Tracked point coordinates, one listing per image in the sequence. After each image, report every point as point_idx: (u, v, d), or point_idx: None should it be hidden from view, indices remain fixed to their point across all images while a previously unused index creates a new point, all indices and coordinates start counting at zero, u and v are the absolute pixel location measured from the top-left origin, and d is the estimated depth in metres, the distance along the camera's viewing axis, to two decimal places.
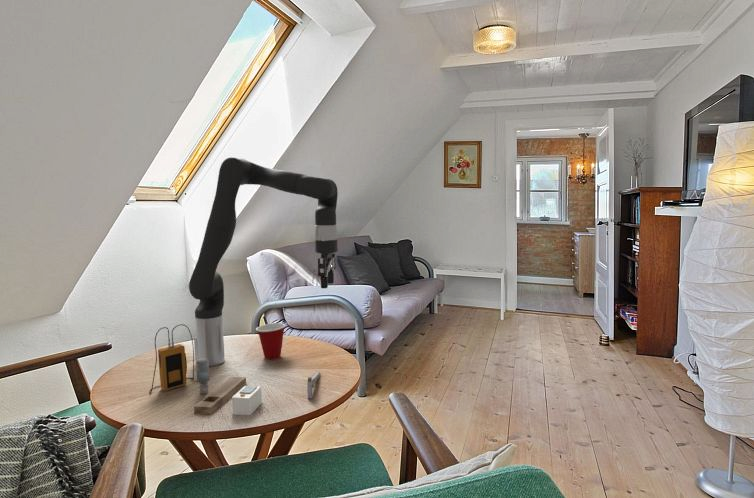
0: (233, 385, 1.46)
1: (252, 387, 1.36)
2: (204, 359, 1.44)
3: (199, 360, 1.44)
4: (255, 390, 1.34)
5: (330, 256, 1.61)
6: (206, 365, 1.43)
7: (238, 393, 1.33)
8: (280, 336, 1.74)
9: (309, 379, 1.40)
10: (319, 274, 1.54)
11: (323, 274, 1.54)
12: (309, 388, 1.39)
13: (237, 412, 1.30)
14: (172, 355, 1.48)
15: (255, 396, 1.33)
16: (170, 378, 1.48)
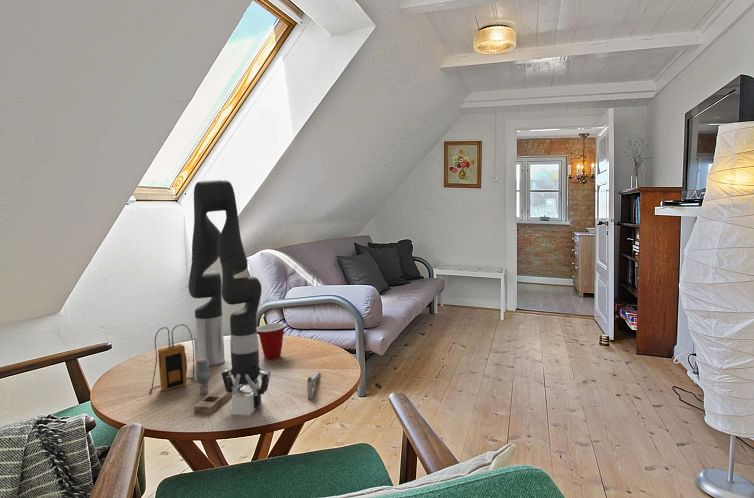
0: None
1: None
2: (204, 359, 1.44)
3: (199, 360, 1.44)
4: None
5: None
6: (206, 365, 1.43)
7: (238, 393, 1.32)
8: (280, 336, 1.74)
9: (309, 379, 1.40)
10: None
11: (266, 389, 1.33)
12: (309, 388, 1.39)
13: (237, 411, 1.30)
14: (172, 355, 1.48)
15: None
16: (170, 378, 1.48)
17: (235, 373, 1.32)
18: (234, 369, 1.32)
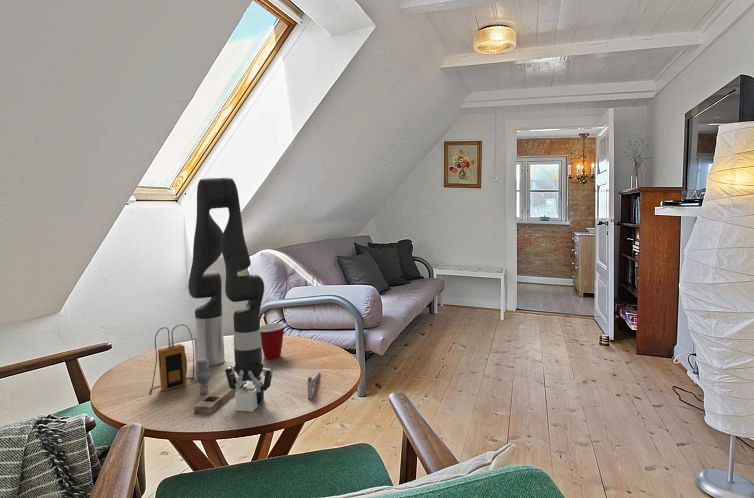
0: None
1: None
2: (204, 359, 1.44)
3: (199, 360, 1.44)
4: None
5: None
6: (206, 365, 1.43)
7: (241, 389, 1.34)
8: (280, 336, 1.74)
9: (309, 379, 1.40)
10: (266, 388, 1.34)
11: (268, 386, 1.35)
12: (309, 388, 1.39)
13: (240, 407, 1.32)
14: (172, 355, 1.48)
15: None
16: (170, 378, 1.48)
17: (238, 370, 1.34)
18: (237, 366, 1.34)
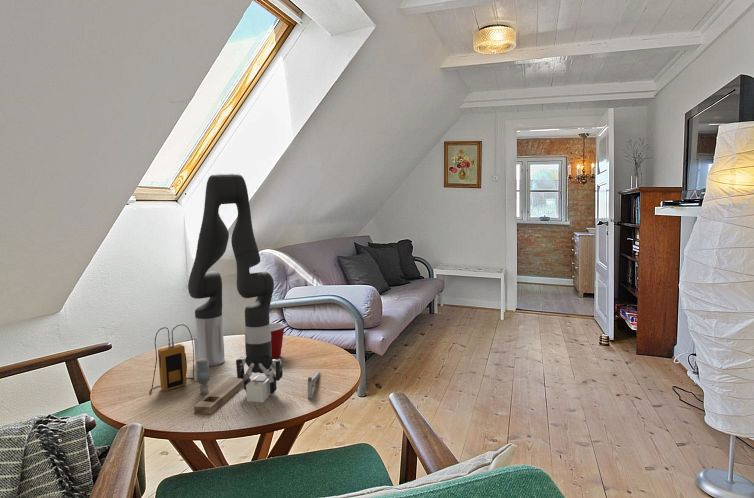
0: (233, 385, 1.46)
1: (264, 376, 1.44)
2: (204, 359, 1.44)
3: (199, 360, 1.44)
4: (267, 379, 1.43)
5: None
6: (206, 365, 1.43)
7: (251, 381, 1.41)
8: (280, 336, 1.74)
9: (309, 379, 1.40)
10: (279, 378, 1.40)
11: (281, 376, 1.42)
12: (309, 388, 1.39)
13: (251, 399, 1.38)
14: (172, 355, 1.48)
15: (267, 384, 1.41)
16: (170, 378, 1.48)
17: (249, 363, 1.41)
18: (249, 359, 1.41)
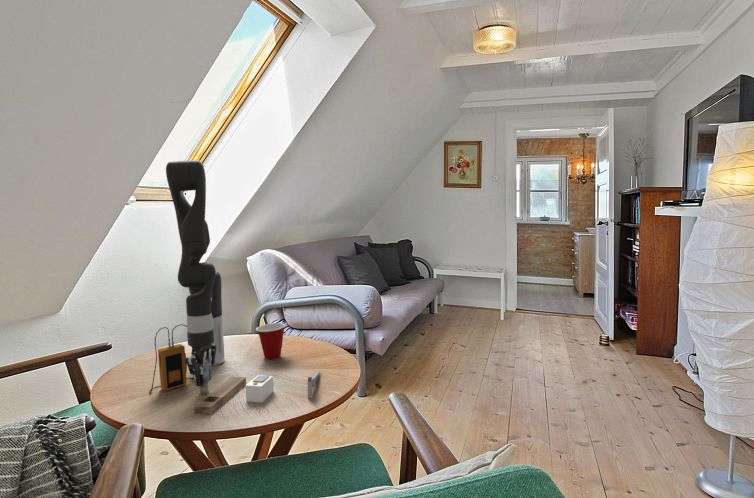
0: (233, 385, 1.46)
1: (264, 376, 1.44)
2: None
3: None
4: (267, 379, 1.42)
5: None
6: (206, 365, 1.43)
7: (251, 381, 1.41)
8: (280, 336, 1.74)
9: (309, 379, 1.40)
10: None
11: None
12: (309, 388, 1.39)
13: (250, 399, 1.38)
14: (172, 355, 1.48)
15: (267, 385, 1.41)
16: (170, 378, 1.48)
17: (200, 353, 1.41)
18: (199, 350, 1.41)
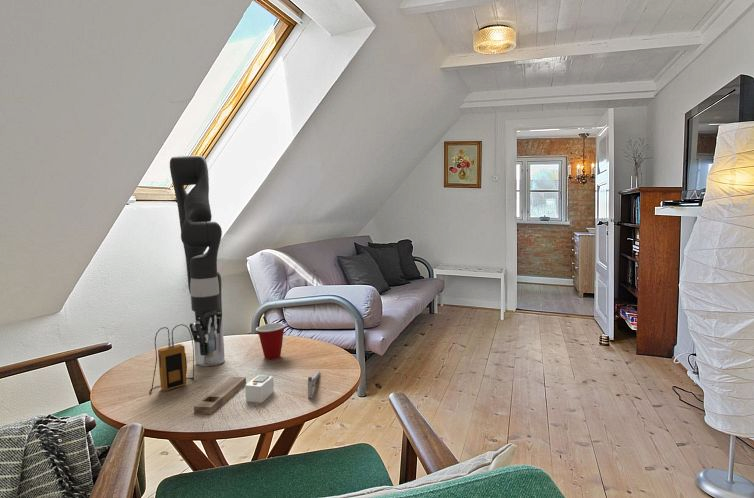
0: (233, 385, 1.46)
1: (265, 376, 1.44)
2: None
3: None
4: (267, 379, 1.42)
5: None
6: (211, 333, 1.33)
7: (251, 381, 1.41)
8: (280, 336, 1.74)
9: (309, 379, 1.40)
10: None
11: None
12: (309, 387, 1.39)
13: (250, 399, 1.38)
14: (172, 355, 1.48)
15: (267, 385, 1.41)
16: (170, 378, 1.48)
17: (205, 319, 1.31)
18: (204, 315, 1.30)
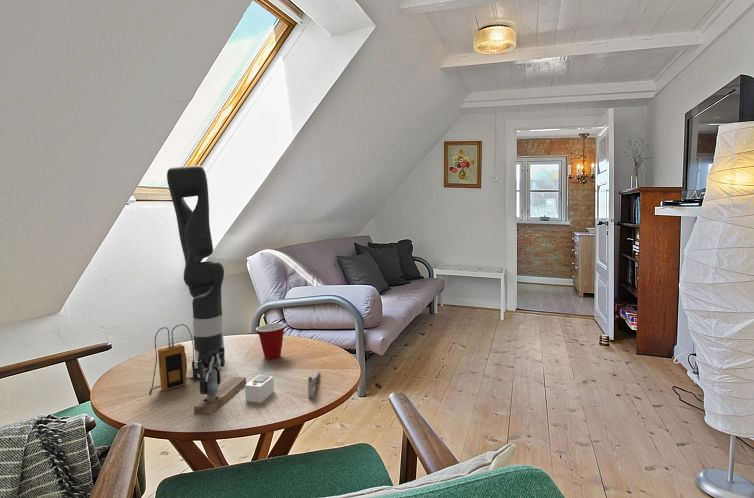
0: (233, 385, 1.46)
1: (265, 376, 1.44)
2: (212, 369, 1.36)
3: None
4: (267, 379, 1.42)
5: None
6: (214, 375, 1.34)
7: (251, 381, 1.41)
8: (280, 336, 1.74)
9: (310, 378, 1.40)
10: None
11: None
12: (310, 387, 1.39)
13: (250, 399, 1.38)
14: (172, 355, 1.48)
15: (266, 385, 1.41)
16: (170, 378, 1.48)
17: (207, 359, 1.32)
18: (207, 355, 1.31)
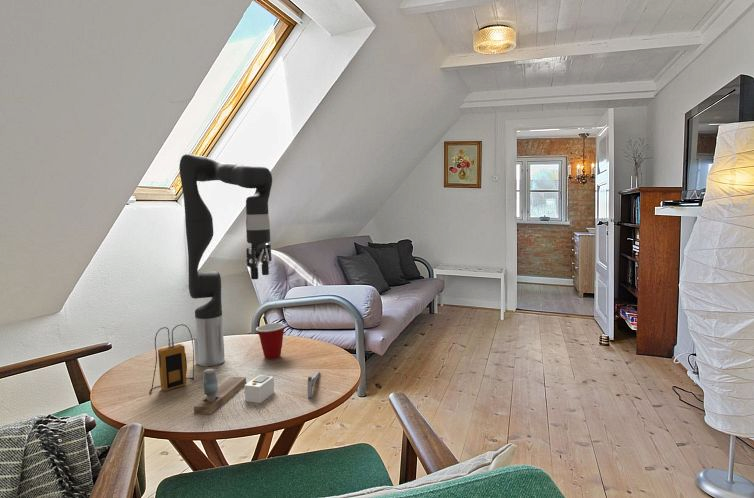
0: (233, 385, 1.46)
1: (265, 377, 1.44)
2: (212, 370, 1.35)
3: (206, 371, 1.34)
4: (267, 380, 1.42)
5: None
6: (214, 376, 1.34)
7: (251, 381, 1.41)
8: (280, 336, 1.74)
9: (309, 378, 1.40)
10: None
11: None
12: (309, 387, 1.39)
13: (249, 399, 1.38)
14: (172, 355, 1.48)
15: (266, 385, 1.41)
16: (170, 378, 1.48)
17: (258, 250, 1.53)
18: (258, 247, 1.53)
